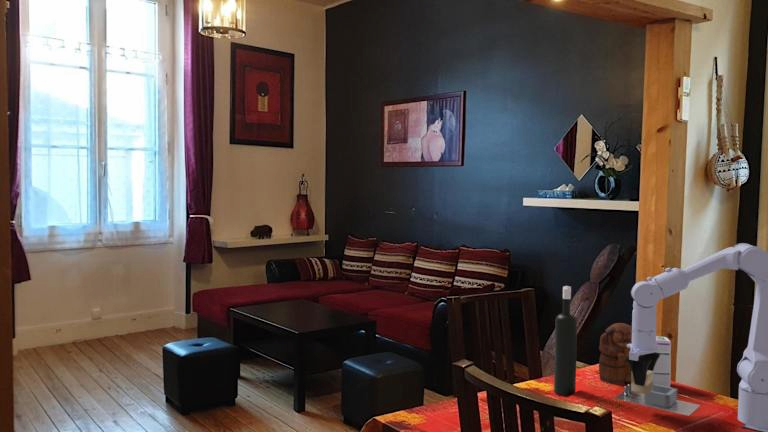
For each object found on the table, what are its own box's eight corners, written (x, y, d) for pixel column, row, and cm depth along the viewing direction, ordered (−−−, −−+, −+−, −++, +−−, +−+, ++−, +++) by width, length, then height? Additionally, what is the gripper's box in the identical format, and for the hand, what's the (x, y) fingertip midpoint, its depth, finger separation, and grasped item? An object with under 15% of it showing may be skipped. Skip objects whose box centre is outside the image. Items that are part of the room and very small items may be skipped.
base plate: (700, 408, 166) (700, 395, 165) (689, 419, 158) (689, 405, 158) (627, 392, 178) (627, 380, 178) (613, 401, 170) (613, 389, 170)
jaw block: (652, 390, 161) (653, 370, 161) (647, 394, 158) (647, 374, 158) (636, 387, 164) (637, 367, 163) (631, 390, 161) (631, 371, 160)
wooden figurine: (607, 388, 181) (608, 326, 180) (596, 381, 188) (598, 321, 187) (645, 387, 183) (647, 325, 182) (634, 380, 189) (636, 320, 188)
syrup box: (671, 392, 179) (672, 341, 178) (648, 390, 180) (650, 340, 179) (666, 385, 184) (667, 336, 184) (644, 384, 186) (646, 335, 185)
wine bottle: (554, 395, 175) (557, 287, 174) (553, 388, 181) (555, 284, 179) (576, 396, 174) (579, 288, 173) (574, 390, 180) (576, 285, 178)
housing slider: (677, 399, 168) (677, 388, 168) (668, 407, 163) (668, 395, 163) (653, 394, 172) (654, 383, 172) (644, 401, 167) (644, 390, 167)
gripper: (638, 322, 168) (636, 373, 169) (617, 332, 157) (616, 386, 158) (666, 326, 163) (664, 378, 164) (646, 336, 153) (645, 392, 153)
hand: (642, 382), depth 161 cm, fingers closed on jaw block, 4 cm apart
